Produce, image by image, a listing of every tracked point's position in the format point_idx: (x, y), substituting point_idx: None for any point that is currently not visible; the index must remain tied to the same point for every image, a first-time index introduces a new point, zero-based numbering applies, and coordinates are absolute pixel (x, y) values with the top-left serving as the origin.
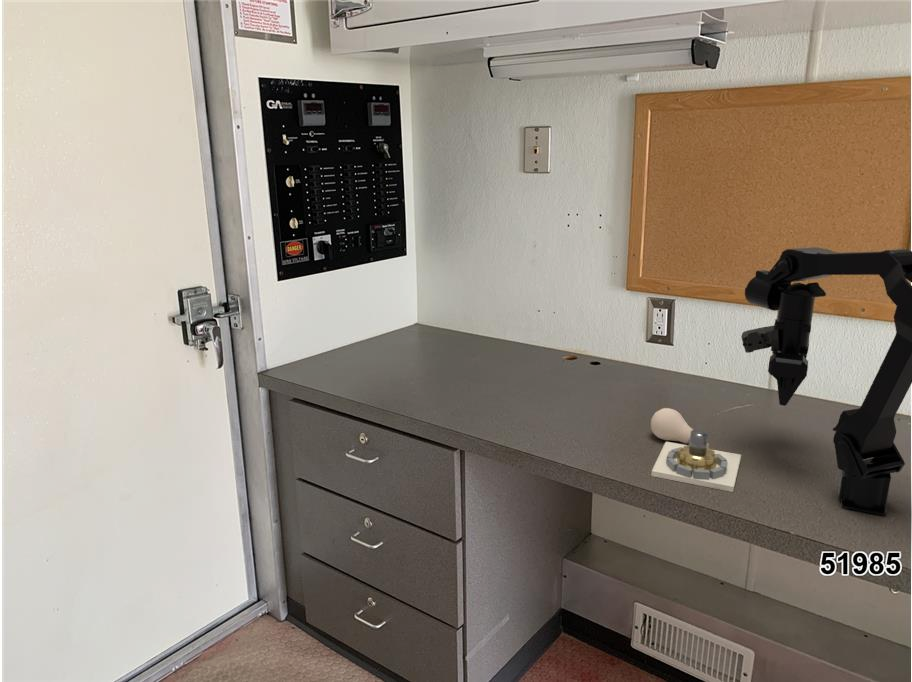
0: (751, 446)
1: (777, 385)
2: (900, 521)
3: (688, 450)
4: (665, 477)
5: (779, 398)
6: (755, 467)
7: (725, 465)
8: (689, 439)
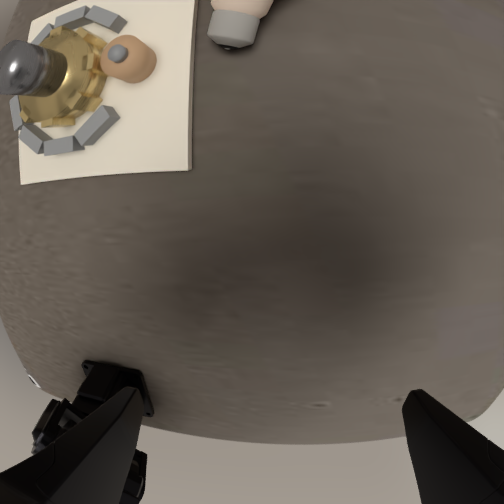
0: (308, 193)
1: (31, 456)
2: None
3: (56, 48)
4: None
5: (99, 408)
6: (160, 212)
7: (51, 151)
8: (213, 12)
